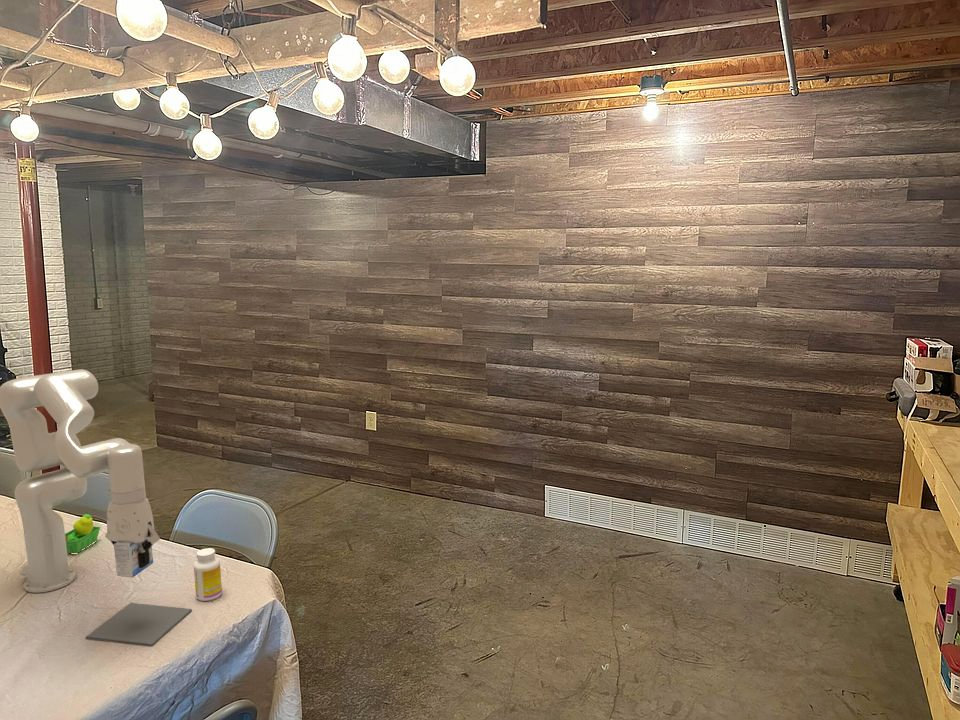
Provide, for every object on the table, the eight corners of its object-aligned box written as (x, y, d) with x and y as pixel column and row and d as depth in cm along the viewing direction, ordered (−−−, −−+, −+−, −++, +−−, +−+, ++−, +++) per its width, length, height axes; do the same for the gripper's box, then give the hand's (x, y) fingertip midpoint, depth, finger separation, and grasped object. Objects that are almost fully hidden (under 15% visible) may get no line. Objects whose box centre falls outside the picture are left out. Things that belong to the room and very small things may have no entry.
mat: (85, 638, 163) (85, 636, 163) (130, 604, 178) (130, 602, 178) (152, 646, 160) (151, 644, 160) (191, 611, 175) (191, 608, 175)
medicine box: (132, 578, 162) (129, 544, 161) (116, 576, 163) (113, 543, 162) (153, 563, 170) (151, 531, 169) (138, 561, 171) (135, 529, 170)
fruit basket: (81, 539, 219) (78, 507, 217) (106, 541, 217) (103, 508, 216) (55, 555, 207) (51, 521, 206) (81, 557, 206) (77, 522, 204)
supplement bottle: (227, 591, 185) (224, 548, 183) (210, 603, 179) (207, 558, 177) (207, 587, 187) (204, 544, 185) (190, 599, 181) (187, 555, 179)
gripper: (86, 498, 161) (94, 569, 164) (149, 503, 158) (155, 574, 161) (108, 487, 169) (115, 555, 172) (169, 491, 166) (175, 560, 169)
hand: (135, 564), depth 166 cm, fingers closed on medicine box, 4 cm apart
